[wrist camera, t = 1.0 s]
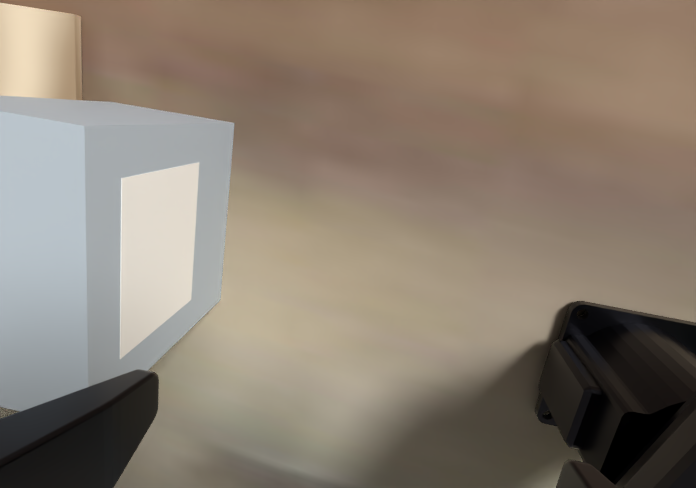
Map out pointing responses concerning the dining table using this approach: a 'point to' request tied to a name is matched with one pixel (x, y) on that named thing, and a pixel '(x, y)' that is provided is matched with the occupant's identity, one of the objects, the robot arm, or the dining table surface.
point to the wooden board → (40, 53)
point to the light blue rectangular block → (103, 239)
